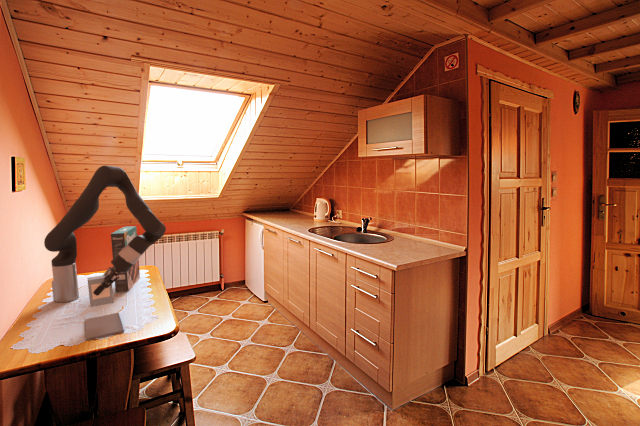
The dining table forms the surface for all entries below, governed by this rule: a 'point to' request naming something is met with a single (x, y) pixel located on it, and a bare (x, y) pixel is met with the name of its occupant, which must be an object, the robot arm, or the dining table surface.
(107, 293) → the slab
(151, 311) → the dining table surface
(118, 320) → the slate board
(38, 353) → the dining table surface
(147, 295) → the dining table surface
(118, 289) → the cake mix box
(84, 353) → the dining table surface
